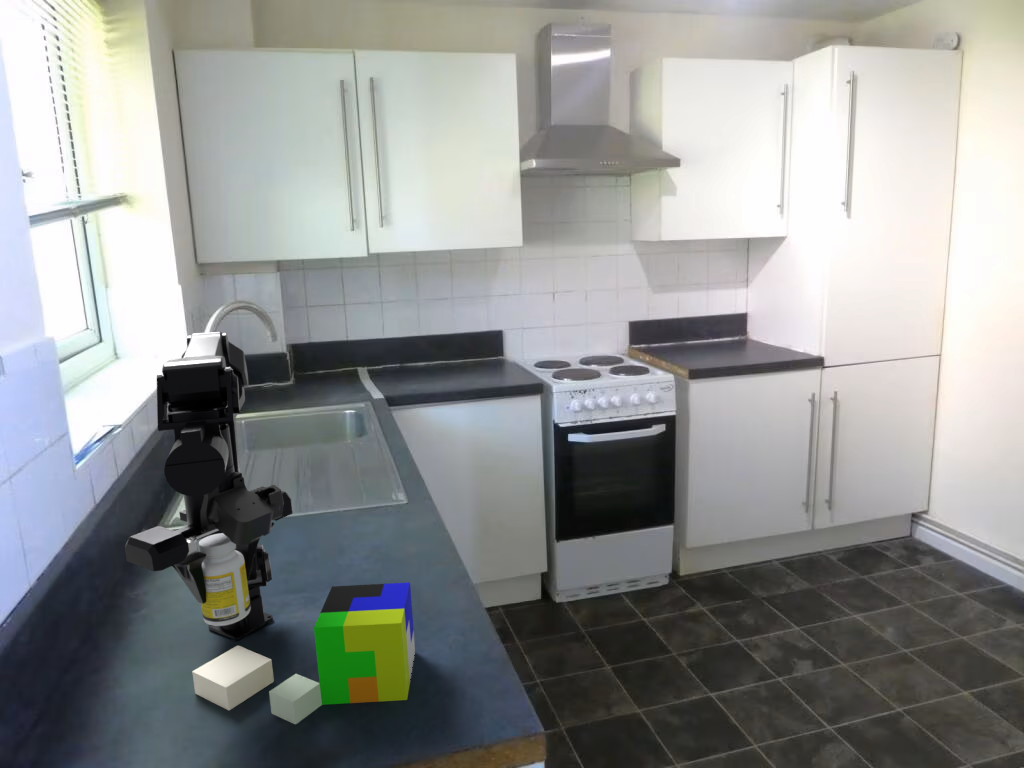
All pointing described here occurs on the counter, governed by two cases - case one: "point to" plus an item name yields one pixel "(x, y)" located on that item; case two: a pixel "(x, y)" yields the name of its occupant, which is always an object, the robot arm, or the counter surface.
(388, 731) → the counter surface
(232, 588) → the supplement bottle
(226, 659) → the base brick
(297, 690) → the brick
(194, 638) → the counter surface
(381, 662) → the puzzle toy
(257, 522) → the robot arm
